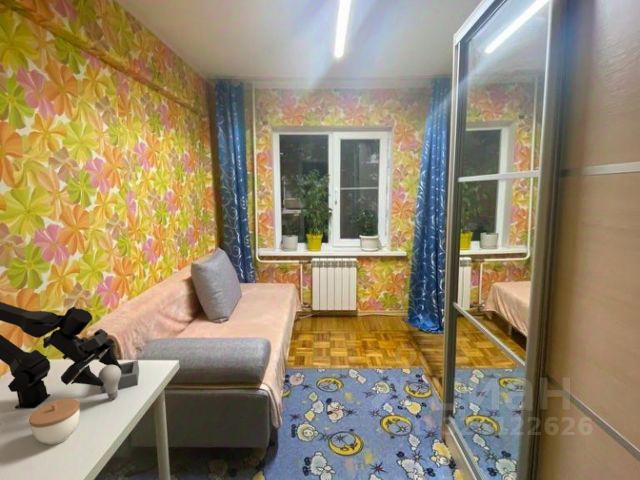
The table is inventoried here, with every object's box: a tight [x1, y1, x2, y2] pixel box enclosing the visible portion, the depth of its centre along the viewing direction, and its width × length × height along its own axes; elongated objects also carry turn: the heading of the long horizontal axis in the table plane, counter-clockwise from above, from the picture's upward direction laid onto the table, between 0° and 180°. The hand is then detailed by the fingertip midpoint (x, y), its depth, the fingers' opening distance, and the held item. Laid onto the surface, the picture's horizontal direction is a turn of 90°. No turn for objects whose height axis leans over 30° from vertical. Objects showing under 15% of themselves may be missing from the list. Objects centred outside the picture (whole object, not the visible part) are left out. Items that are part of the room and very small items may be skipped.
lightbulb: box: [97, 365, 121, 401], centre depth 111 cm, size 6×6×11 cm
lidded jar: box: [28, 397, 81, 446], centre depth 95 cm, size 11×11×9 cm
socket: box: [99, 359, 140, 395], centre depth 121 cm, size 10×10×4 cm
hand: (112, 376), depth 111 cm, fingers open, 9 cm apart
